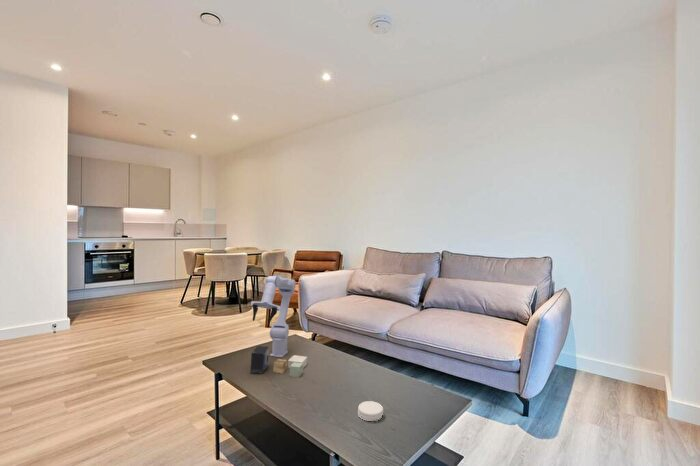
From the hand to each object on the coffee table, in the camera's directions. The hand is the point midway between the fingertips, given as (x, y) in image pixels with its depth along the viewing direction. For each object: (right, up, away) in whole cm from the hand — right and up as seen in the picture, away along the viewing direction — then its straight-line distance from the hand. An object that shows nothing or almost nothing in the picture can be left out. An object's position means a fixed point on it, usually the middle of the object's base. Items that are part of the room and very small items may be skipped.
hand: (261, 321), depth 163 cm
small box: (-3, -27, +6) cm, 28 cm away
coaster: (+52, -29, -33) cm, 68 cm away
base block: (+16, -27, +13) cm, 34 cm away
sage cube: (+17, -27, +2) cm, 32 cm away
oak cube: (+8, -27, +6) cm, 29 cm away
